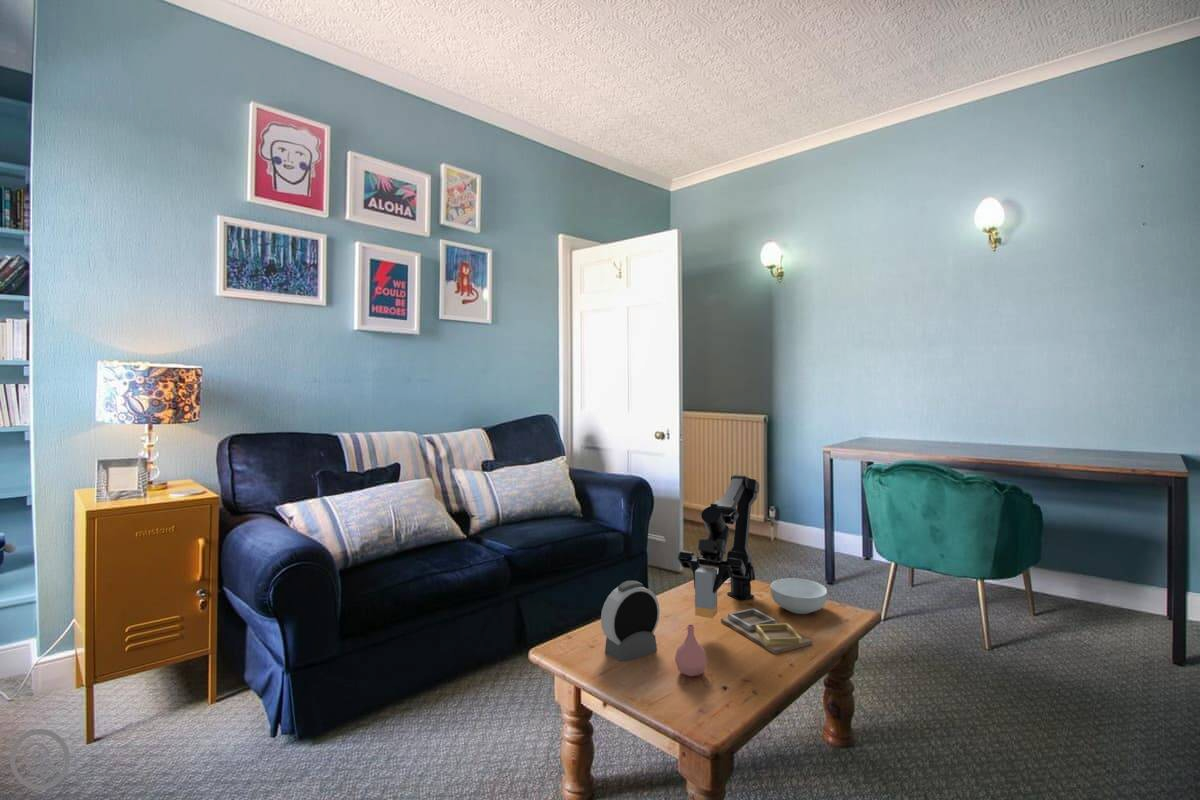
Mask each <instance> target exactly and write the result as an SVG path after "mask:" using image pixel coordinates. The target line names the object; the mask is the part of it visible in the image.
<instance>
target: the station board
mask: <svg viewBox="0 0 1200 800" xmlns="http://www.w3.org/2000/svg"><path fill="white" fill-rule="evenodd" d="M720 622H721V623H722V624H724V625H726V626H727V627H729V628H730V629H732V630H734V631H736V632H737V633H739V634H740V635H743V636H744V637H745V638H747V639H748V640H751V641H752V642H754V643H755V644H757V645H759V646H760V647H762V648H764V649H765V650H767V651H769V652H771V653H772V654H774V655H777V654H780V653H783V652H788V651H792V650H796V649H798V648H803V647H806V646H810V645H812V644H813V641H812V639H809V638H808V637H806V636H804V635H803V634H800V633H798V632H797V631H796V630H795V629H794V628H793V626H791V625H790V624H789V623H787V622H786V623H785V622H784V623H783V622H782V623H780V622H777V620H776V619H775V618H773V617H772V616H769V615H768V614H766V613H764V612H761V611H760V610H758V609H756V608H754V607H753V608H748V609H743V610H740V611H734V612H730V613H728V614H727V616H726V617H725V616H724V617H722V618H720Z"/></svg>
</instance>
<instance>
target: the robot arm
mask: <svg viewBox="0 0 1200 800" xmlns="http://www.w3.org/2000/svg"><path fill="white" fill-rule="evenodd" d="M758 493H760V484H759V482H758V481H757V480H756V479H755V478H750V477H748V476H746V475H741V474H734V475H731V476H730V482H729V484H728V486H727V488H726V490H725V492H724V495H723V496H722V498H720V499H717V500H716V501H715V502H714V503H710V506H708V507H705V508H704V509H703V511H701V513H700V514H701V515H700V517H701V519H702V522H703V524H704V526H705V529H706V530H707V532H708V535H707V538H705V539H703V538H699V541H698V546H697V551H699V554H700V556H701V557H698V556H697V555H695V553H694V552H693V551H689V550H687V551H686V550H681V551H680V552H679V553H678V555H677V560H678V561H679V563H680V566H681V567H682V568H683V569H684V568H685V569H688V570H691V572H692V575H693V576H692V577H693V588H694V589H695V571H696V570H697V569H698V568H699V567H702V566H704V567H713V568H717V577H716V580H715V584H714V588H713V593H716V591H717V592H718V590H719V589H720V588H721V587H722V586H723V585H724V584H725V582H726V581H727V580H729V579H730V591H728V592H726V594H727V595H728V596H730V597H732V598H734V599H736V600H738V601H743V600H746V599H751V598H754V597H755V595H754V594H752V584H751V582H752V581H755V580H756V570H755V567H754V564H753V562H752V561H753V560H752V556H751V553H750V551H749V549H748V544H749V537H750V525H751V523H750V522H751V511H752V510H751V509H752V505H753V504H754V503H755V501H756V500H757V498H758ZM734 524H735V526H734V538H733V546H732V547H731V549H730V550H729V551H728V552H727V549H726V548H727V543H728V538H729V537H730V527H729V525H734ZM726 553H727V555H726ZM725 555H726V559H725V560H724V556H725Z"/></svg>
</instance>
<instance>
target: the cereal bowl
mask: <svg viewBox="0 0 1200 800" xmlns="http://www.w3.org/2000/svg"><path fill="white" fill-rule="evenodd" d="M770 595H771V598H772V599H773V601H774V603H776V604H777V605H778V606H779V607H781V608H783V609H785V610H786V611H789V612H790V613H792V614H798V615H808V614H810V613H813V612H817V611H818V610H821V609H822V608H823V607H824V606H825V604H826V603H827V600H828V590H827V588H826V587H825V586H824V584H823V585H822V584H820V583H819V582H816V581H813V580H810V579H803V578H798V577H797V578H796V577H795V578H794V577H793V578H789V577H788V578H779V579H776V580H774V581H772V582H771V584H770Z"/></svg>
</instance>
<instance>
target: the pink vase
mask: <svg viewBox="0 0 1200 800" xmlns="http://www.w3.org/2000/svg"><path fill="white" fill-rule="evenodd" d="M674 661H675V664H676V666H677V667H676V668H677V670H678V671H679V672H680V673H681V674H683V675H686V676H688V677H695V676H700V675H702V674H704V672H705V668H706V665H707V662H708V660H707V654H706V650H705V649H704V648H703V647H702V646H701V645H700V644H699V643H698V641H697V639H696V637H695V626H694V624H688V625H687V635H686V637H685V639H684V641H683V642H682V643H681V644H680V645H679V646H678V647H677V648H676V652H675V656H674Z"/></svg>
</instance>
